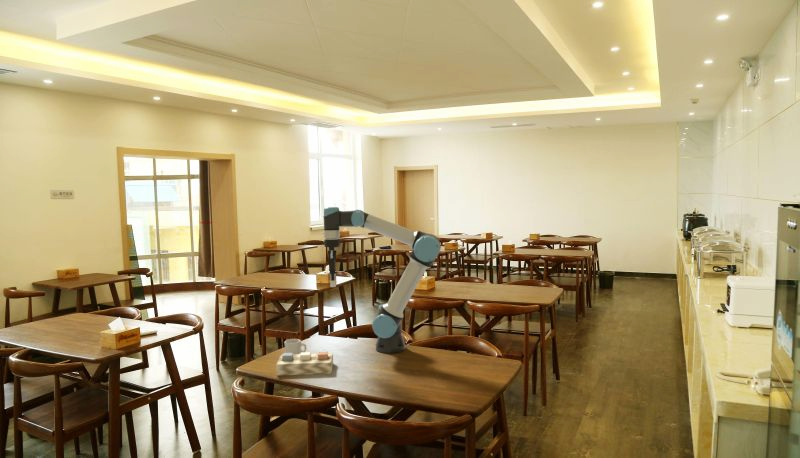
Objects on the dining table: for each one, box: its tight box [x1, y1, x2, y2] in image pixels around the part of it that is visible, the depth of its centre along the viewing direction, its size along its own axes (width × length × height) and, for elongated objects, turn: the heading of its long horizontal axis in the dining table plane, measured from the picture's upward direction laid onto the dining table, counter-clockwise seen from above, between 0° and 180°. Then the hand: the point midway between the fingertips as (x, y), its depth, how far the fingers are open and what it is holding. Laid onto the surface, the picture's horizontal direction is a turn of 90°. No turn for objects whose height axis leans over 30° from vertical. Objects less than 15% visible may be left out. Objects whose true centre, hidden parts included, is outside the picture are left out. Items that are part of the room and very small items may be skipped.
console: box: [275, 352, 334, 377], centre depth 238 cm, size 24×14×5 cm, turn 94°
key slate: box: [281, 352, 293, 361], centre depth 237 cm, size 4×4×5 cm
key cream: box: [300, 351, 312, 360], centre depth 238 cm, size 4×4×5 cm
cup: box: [284, 338, 307, 354], centre depth 256 cm, size 11×8×8 cm
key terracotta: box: [317, 351, 329, 360], centre depth 238 cm, size 4×4×5 cm
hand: (333, 286), depth 255 cm, fingers closed
